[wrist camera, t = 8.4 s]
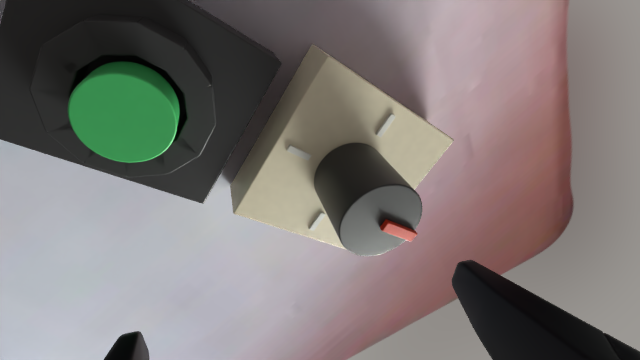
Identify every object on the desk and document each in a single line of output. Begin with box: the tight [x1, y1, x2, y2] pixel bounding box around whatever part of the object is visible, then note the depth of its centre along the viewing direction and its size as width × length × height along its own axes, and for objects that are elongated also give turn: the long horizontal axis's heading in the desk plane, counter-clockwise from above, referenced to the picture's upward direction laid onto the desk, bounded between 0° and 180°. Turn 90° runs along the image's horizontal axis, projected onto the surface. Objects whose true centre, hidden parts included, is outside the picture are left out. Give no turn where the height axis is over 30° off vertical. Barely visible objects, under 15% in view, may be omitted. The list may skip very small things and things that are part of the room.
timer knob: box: [314, 143, 422, 256], centre depth 18 cm, size 4×4×5 cm
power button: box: [68, 61, 180, 163], centre depth 13 cm, size 4×4×2 cm
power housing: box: [0, 0, 281, 203], centre depth 15 cm, size 10×9×4 cm
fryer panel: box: [230, 44, 454, 249], centre depth 21 cm, size 10×10×3 cm
